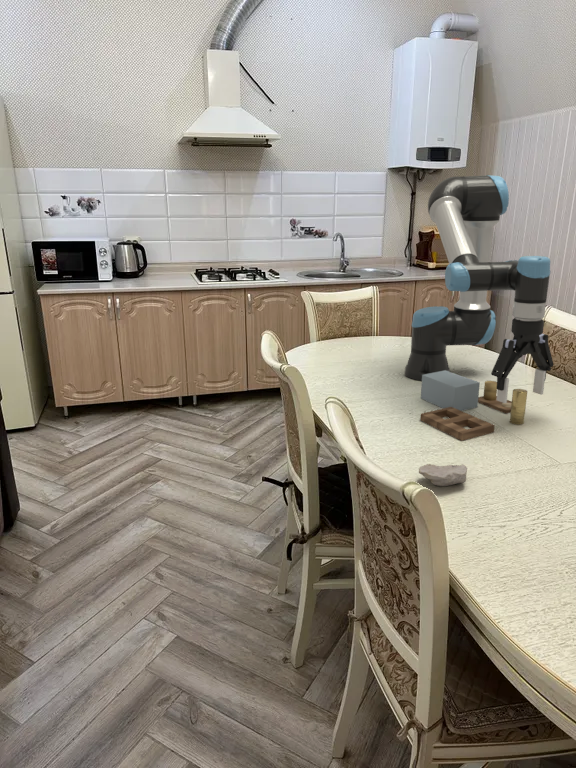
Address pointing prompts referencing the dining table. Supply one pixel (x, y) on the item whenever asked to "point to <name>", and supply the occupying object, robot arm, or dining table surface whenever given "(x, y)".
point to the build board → (457, 423)
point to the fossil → (444, 474)
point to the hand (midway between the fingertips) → (520, 397)
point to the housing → (450, 390)
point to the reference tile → (495, 405)
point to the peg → (518, 406)
